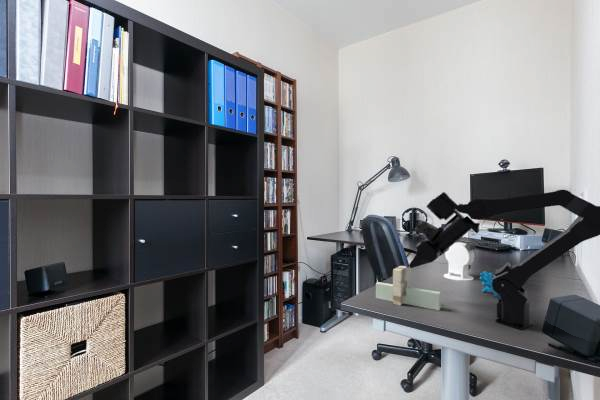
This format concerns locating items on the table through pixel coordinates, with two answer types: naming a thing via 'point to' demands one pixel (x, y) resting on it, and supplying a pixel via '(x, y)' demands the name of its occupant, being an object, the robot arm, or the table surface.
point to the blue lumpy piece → (487, 282)
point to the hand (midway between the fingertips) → (414, 264)
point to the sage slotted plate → (411, 296)
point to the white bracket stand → (460, 261)
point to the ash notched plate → (399, 284)
